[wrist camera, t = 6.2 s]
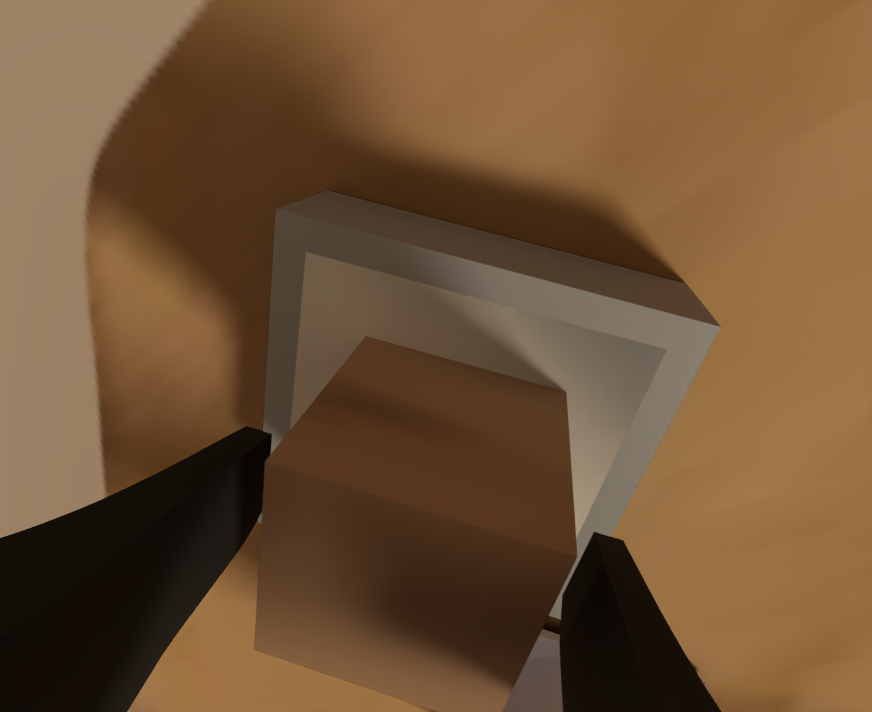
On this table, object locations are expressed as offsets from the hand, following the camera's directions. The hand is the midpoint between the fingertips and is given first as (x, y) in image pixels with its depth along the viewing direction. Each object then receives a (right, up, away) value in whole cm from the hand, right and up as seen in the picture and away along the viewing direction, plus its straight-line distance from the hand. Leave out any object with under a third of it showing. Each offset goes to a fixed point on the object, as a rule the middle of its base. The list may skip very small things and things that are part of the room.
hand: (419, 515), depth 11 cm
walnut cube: (0, +1, +2) cm, 3 cm away
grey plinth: (+1, +2, +5) cm, 6 cm away
